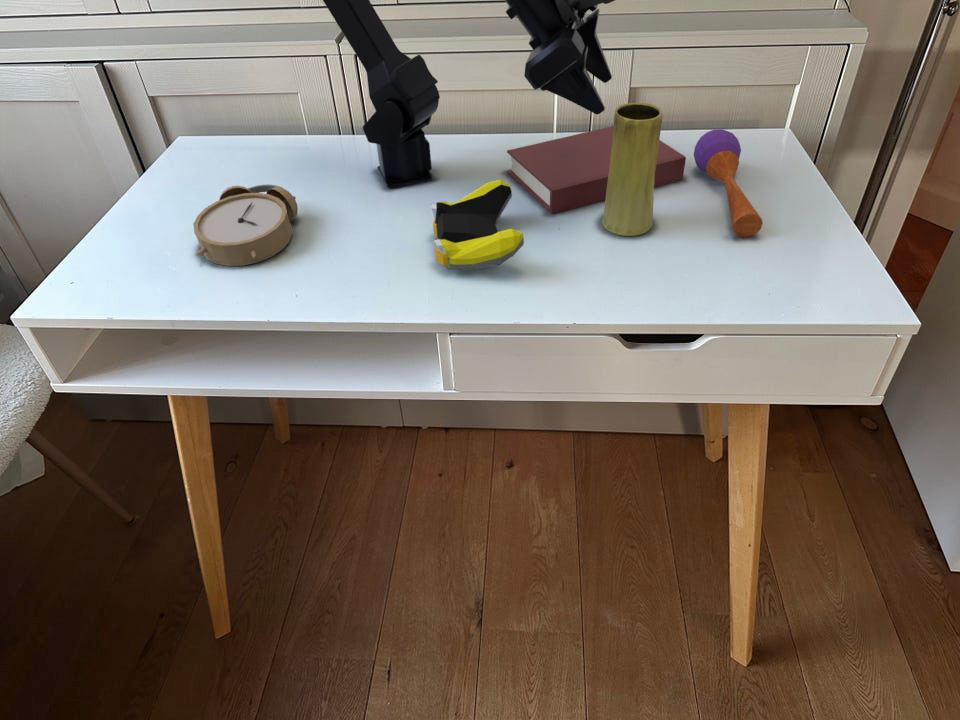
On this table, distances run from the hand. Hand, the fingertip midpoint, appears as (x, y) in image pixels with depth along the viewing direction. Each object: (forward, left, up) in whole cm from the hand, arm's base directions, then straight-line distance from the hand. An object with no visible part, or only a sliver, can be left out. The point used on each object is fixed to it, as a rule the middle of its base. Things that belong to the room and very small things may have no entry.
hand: (605, 95), depth 84 cm
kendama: (+16, -5, -14) cm, 22 cm away
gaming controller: (-18, -4, -14) cm, 23 cm away
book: (+3, +7, -14) cm, 16 cm away
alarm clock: (-43, +10, -14) cm, 47 cm away
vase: (+1, -6, -14) cm, 16 cm away
